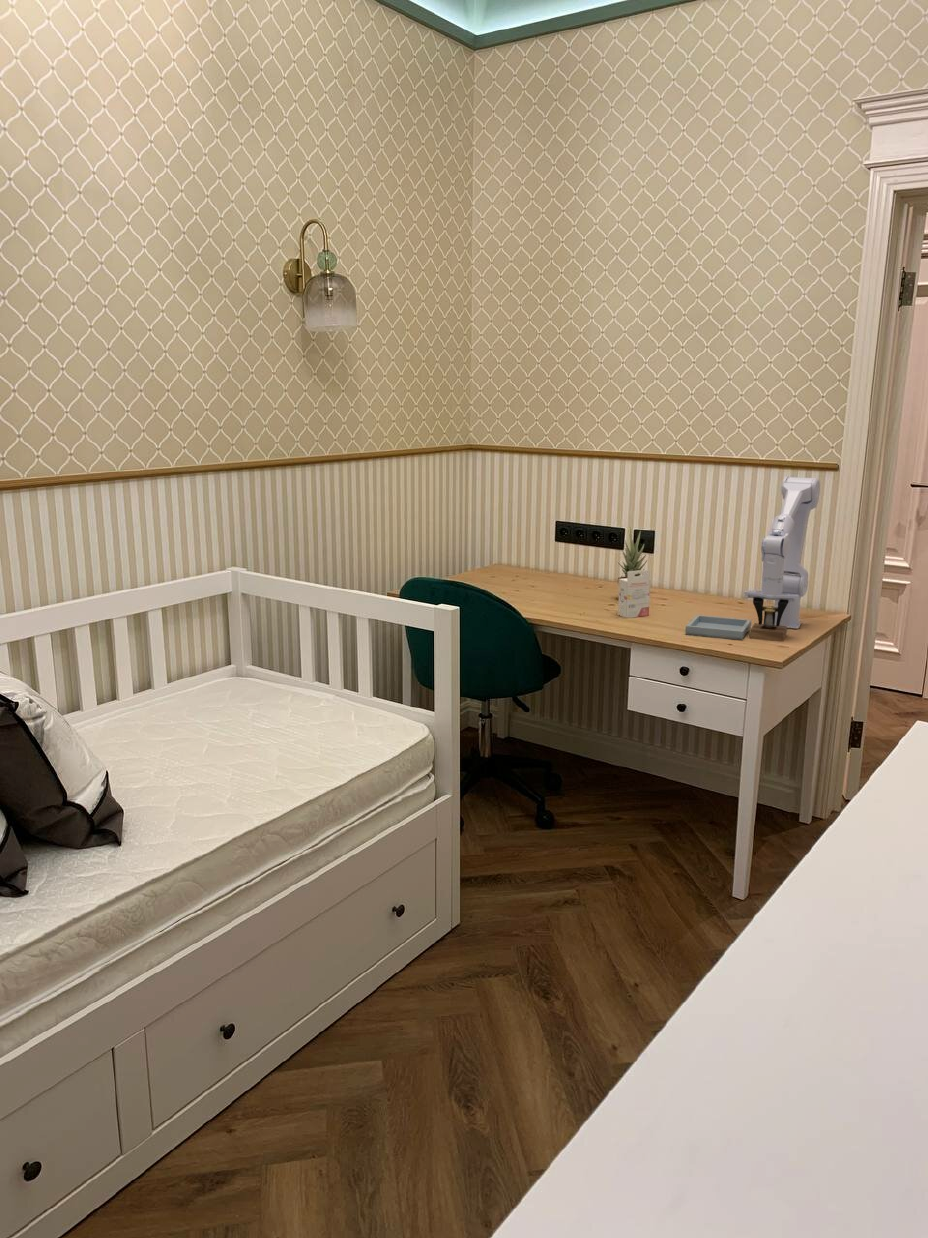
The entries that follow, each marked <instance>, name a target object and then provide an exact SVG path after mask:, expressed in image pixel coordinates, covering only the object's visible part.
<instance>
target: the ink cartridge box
mask: <svg viewBox="0 0 928 1238" xmlns="http://www.w3.org/2000/svg"><path fill="white" fill-rule="evenodd" d="M650 572H651V571H650V569H645V570H643V569H641V570H638V571H628V572H627V578H625V579H619V584H618V604H617V605H618V609H617V610H618V613H617V615H618V616H619V615H620V617H622V618H626V619H629V618H630V619H631V618H639V617H641V618H642V617H648V616H650V595H651V593H650V589H651V579H650V578H651V577H650ZM638 573H639V574H640V575H639V576H635V574H638Z"/></svg>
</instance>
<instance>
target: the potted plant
mask: <svg viewBox="0 0 928 1238" xmlns="http://www.w3.org/2000/svg"><path fill="white" fill-rule="evenodd" d="M640 539H641V530H639V533H638V535H637V538H636V542H635V543H634V540H633V537H632V527H630V530H629V544H630V545H628V542H627V541H626V539H624V542H625V543H624V544H625V548H624V550H622V551H621V552H622V555H623V558H624V560H625V562H626V563H625V562H624V561H622V564H620V563H619V562H617V564H618V566H620V568H621V569H622V572H623V574H624V576H620V577H617V578H616V583H617V584H618V585H619V579H625V578H627V572H628V571H638V570H646V569H645V568H643V567H644V566H645V565H646V563H647V562H648V559H646V560H645V558H646V557H647V554H645V555H643V557H641V555H642V553H643V551H644V548H645V543H643V544H642V547H640V549H639V542H640ZM629 546H630V548H629ZM624 551H625V552H624ZM640 557H641V559H639V558H640ZM644 560H645V562H644V563H643V561H644ZM642 563H643V564H642ZM635 576H641V574H639V573H638V574H635Z"/></svg>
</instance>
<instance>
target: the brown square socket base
mask: <svg viewBox="0 0 928 1238" xmlns="http://www.w3.org/2000/svg"><path fill="white" fill-rule="evenodd" d="M763 626H764V623H762V624H761V625H760V624H759V622H754V623H753V625H751V629H750V630H749V639H756V640H757V639H758V640H764V641H776V642H784V640H785V638H786V636H787V633H788V632H787V630H788V628H787V626H783V625H779V626H776V625H775V626H774V630H771V629H763Z"/></svg>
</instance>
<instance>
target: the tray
mask: <svg viewBox="0 0 928 1238" xmlns="http://www.w3.org/2000/svg"><path fill="white" fill-rule="evenodd" d="M751 628H752V619H745V618H733V617H726V616H725V617H723V616H714V615H703V614H702V615H701V614H700V615H699V614H696V615H695V616H694V617H693V618H692V619H691V620H690V621H689V622H688V623H687V624H686V626H685V635H687V636H694V637H695V636H696V637H706V638H713V639H714V638H718V639H726V640H734V641H735V640H736V641H743V640H744V639H745V637H746V636H747V634H748V633H749V632H750V629H751Z"/></svg>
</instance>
